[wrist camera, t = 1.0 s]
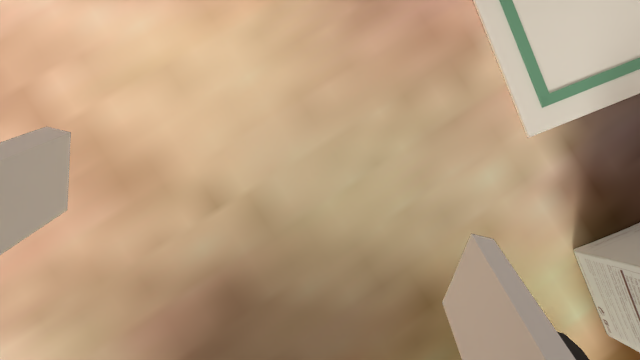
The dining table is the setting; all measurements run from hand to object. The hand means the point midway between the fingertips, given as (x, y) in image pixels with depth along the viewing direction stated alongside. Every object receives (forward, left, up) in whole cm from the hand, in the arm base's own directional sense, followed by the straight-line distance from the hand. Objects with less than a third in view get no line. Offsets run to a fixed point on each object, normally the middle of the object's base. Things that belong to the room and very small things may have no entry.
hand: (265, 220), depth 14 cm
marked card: (+5, -26, -18) cm, 32 cm away
